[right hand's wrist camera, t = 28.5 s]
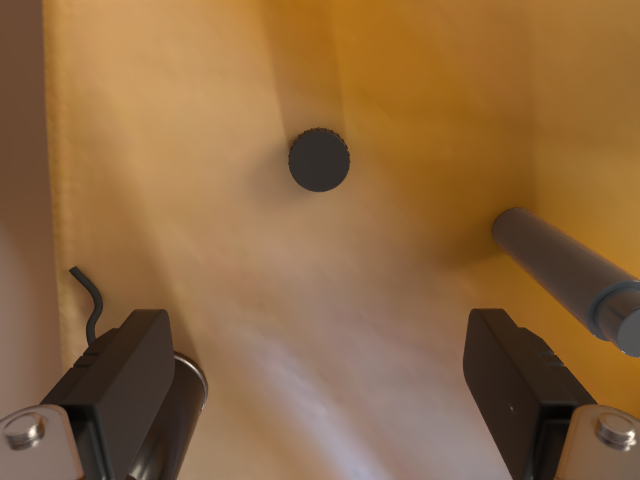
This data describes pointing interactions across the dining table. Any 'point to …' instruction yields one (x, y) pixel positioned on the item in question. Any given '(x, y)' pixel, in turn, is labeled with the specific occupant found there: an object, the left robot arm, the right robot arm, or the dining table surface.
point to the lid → (319, 160)
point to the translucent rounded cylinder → (574, 277)
